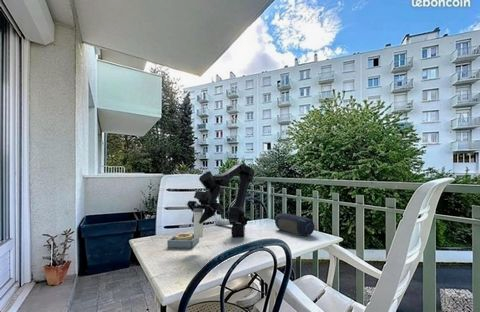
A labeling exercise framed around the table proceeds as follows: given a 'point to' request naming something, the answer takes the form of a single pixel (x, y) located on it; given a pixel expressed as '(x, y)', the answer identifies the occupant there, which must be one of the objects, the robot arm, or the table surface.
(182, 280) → the table surface
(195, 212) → the cream and grey cylinder
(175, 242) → the walled box
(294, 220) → the portable speaker
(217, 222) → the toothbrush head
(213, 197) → the robot arm
